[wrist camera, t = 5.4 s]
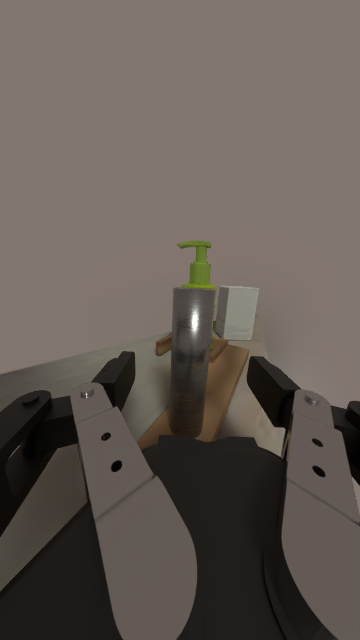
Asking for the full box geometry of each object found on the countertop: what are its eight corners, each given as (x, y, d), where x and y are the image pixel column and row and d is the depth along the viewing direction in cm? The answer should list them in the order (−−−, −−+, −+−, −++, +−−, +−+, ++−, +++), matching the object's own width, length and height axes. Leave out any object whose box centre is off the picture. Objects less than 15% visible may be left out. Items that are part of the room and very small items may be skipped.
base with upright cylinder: (64, 410, 18) (43, 280, 14) (179, 339, 39) (182, 280, 36) (190, 505, 11) (207, 297, 7) (247, 356, 32) (259, 284, 29)
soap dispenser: (177, 346, 36) (182, 245, 31) (210, 350, 34) (220, 245, 29) (170, 358, 30) (173, 238, 25) (208, 364, 29) (220, 237, 24)
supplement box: (252, 341, 41) (260, 288, 37) (222, 340, 40) (228, 287, 37) (239, 331, 48) (246, 286, 45) (214, 330, 47) (218, 285, 44)
